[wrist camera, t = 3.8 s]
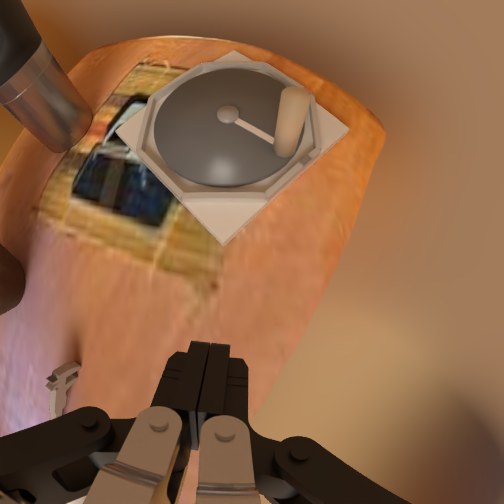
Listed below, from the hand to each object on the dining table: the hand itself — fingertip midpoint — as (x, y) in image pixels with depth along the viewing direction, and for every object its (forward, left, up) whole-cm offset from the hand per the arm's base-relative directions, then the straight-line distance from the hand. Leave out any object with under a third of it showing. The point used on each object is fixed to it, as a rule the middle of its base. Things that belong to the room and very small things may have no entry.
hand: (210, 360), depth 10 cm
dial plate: (-18, +16, -19) cm, 30 cm away
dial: (-18, +16, -17) cm, 29 cm away
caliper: (-6, -28, -19) cm, 34 cm away
